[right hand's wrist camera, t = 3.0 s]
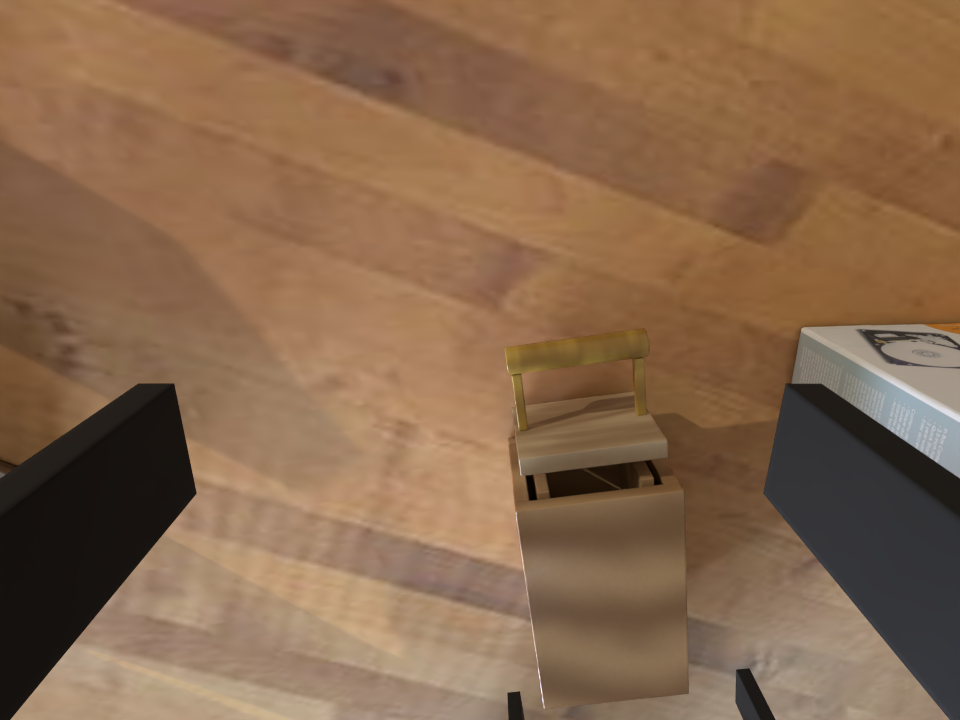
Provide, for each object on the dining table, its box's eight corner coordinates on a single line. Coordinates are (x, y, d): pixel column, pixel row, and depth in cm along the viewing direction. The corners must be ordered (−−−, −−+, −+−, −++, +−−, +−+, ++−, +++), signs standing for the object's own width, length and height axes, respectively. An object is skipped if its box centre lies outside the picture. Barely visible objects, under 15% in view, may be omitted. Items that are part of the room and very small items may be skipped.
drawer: (501, 331, 38) (506, 370, 31) (631, 313, 38) (664, 348, 31) (534, 577, 45) (544, 652, 38) (644, 564, 45) (674, 637, 38)
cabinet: (507, 437, 42) (515, 511, 33) (642, 420, 42) (684, 490, 33) (532, 608, 48) (543, 709, 39) (650, 595, 47) (689, 694, 39)
